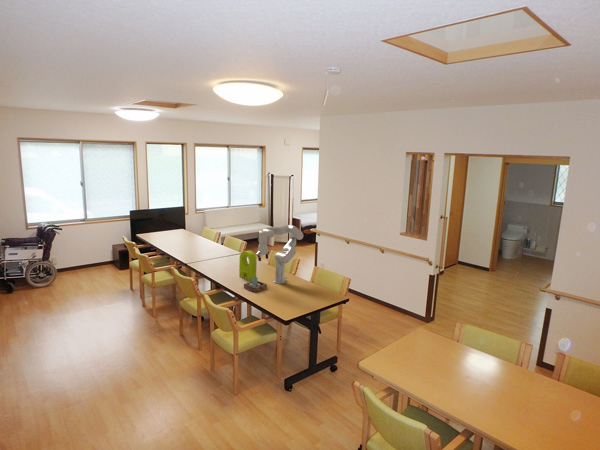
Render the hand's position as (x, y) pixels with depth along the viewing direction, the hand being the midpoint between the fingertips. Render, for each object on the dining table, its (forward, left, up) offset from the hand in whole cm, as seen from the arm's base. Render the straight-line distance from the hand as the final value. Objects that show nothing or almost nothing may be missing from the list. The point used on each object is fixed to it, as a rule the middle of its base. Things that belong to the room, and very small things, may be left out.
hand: (263, 259), depth 374 cm
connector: (+10, -1, -27) cm, 29 cm away
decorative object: (-4, -28, -28) cm, 39 cm away
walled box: (+10, 0, -27) cm, 29 cm away
